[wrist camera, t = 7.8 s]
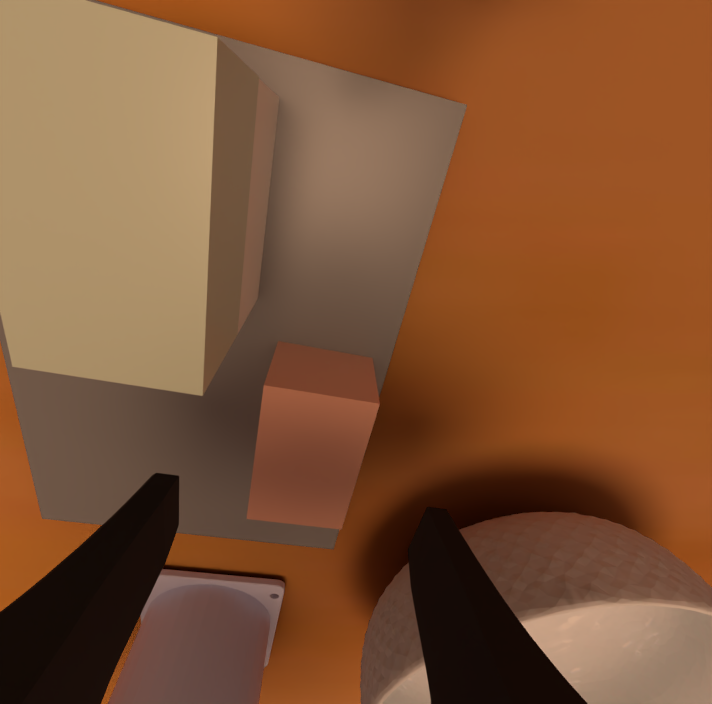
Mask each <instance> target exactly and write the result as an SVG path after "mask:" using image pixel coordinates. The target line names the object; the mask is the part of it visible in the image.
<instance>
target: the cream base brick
mask: <svg viewBox="0 0 712 704" xmlns="http://www.w3.org/2000/svg"><path fill="white" fill-rule="evenodd" d="M278 105H279V97H278V96H277V95H276V94H275V93H274V92H273V91H272V90H271V89H270V88H269V87H268V86H266V85H265V84H264V83H263V82H262V81H261V80H260V79H259V85H258V97H257V109H256V121H255V132H254V144H253V156H252V168H251V180H250V192H249V203H248V215H247V227H246V239H245V251H244V263H243V274H242V286H241V298H240V310H239V322H238V333H239V331H240V329H241V327H242V326H243V324H244V322H245V320H246V319H247V317H248V315H249V313H250V311H251V310H252V308H253V306H254V304H255V303H256V301H257V299H258V292H259V282H260V273H261V264H262V254H263V245H264V236H265V226H266V217H267V208H268V198H269V189H270V180H271V170H272V161H273V152H274V142H275V133H276V124H277V115H278Z"/></svg>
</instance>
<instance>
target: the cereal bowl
mask: <svg viewBox="0 0 712 704" xmlns="http://www.w3.org/2000/svg"><path fill="white" fill-rule="evenodd" d="M459 531H460V532H461V534H462V536H463V537H464V539H465V541H466V542H467V544H468V545H469V547H470V549H471V550H472V552H473V553H474V555H475V557H476V558H477V560H478V561H479V563H480V564H481V566H482V567H483V569H484V570H485V572H486V573H487V575H488V576H489V578H490V580H491V581H492V583H493V584H494V586H495V587H496V589H497V590H498V591H499V593H500V594H501V596H502V597H503V599H504V600H505V602H506V603H507V604H508V606H509V607H510V609H511V610H512V611H513V613H514V614H515V616H516V617H517V618H518V620H519V621H520V622H521V624H522V625H523V626H524V628H525V629H526V630H527V632H528V633H529V634H530V636H531V637H532V638H533V640H534V641H535V642H536V643H537V645H538V646H539V647H540V648H541V650H542V651H543V652H544V653H545V654H546V656H547V657H548V658H549V659H550V661H551V662H552V663H553V664H554V666H555V667H556V668H557V669H558V670H559V672H560V673H561V674H562V675H563V676H564V677H565V679H566V680H567V681H568V682H569V683H570V684H571V686H572V687H573V688H574V689H575V690H576V691H577V692H578V693H579V694H580V695H581V697H582V698H583V699H584V700H585V701H586V702H587V703H588V704H712V588H711V586H710V585H708V584H707V583H706V582H705V581H704V580H703V579H702V577H701V576H699V575H698V574H697V573H695V572H694V571H693V570H692V569H691V568H690V567H689V566H688V565H687V564H686V563H684V562H683V561H681V560H680V559H679V558H677V557H676V556H674V555H673V554H672V553H671V552H670V551H669V550H668V549H666V548H664V547H662V546H660V545H659V544H657V543H656V542H655V541H653V540H652V539H650V538H648V537H645V536H643V535H641V534H640V533H639V532H637V531H636V530H633V529H629V528H627V527H625V526H623V525H621V524H618V523H613V522H611V521H609V520H607V519H600V518H597V517H594V516H585V515H580V514H578V513H564V512H529V513H520V514H512V515H510V516H502V517H500V518H494V519H491V520H485V521H483V522H481V523H476V524H474V525H472V526H468V527H466V528H462V529H460V530H459ZM360 688H361V704H431V699H430V692H429V685H428V679H427V673H426V667H425V662H424V657H423V651H422V646H421V641H420V635H419V630H418V625H417V619H416V614H415V608H414V603H413V597H412V592H411V585H410V573H409V563H408V564H406V565H405V566H403V568H402V569H401V571H400V572H399V573H398V574H397V575H395V577H394V579H393V580H392V582H391V583H390V584H389V585H388V586H387V587H386V588H385V591H384V593H383V594H382V595H381V597H380V598H379V600H378V603H377V605H376V607H375V608H374V610H373V615H372V617H371V618H370V620H369V624H368V629H367V632H366V634H365V642H364V646H363V652H362V660H361V683H360Z"/></svg>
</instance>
